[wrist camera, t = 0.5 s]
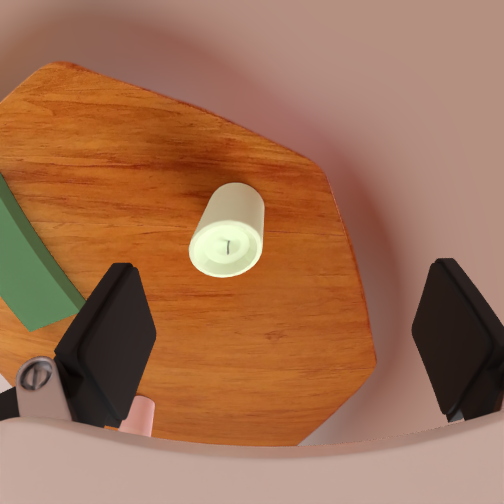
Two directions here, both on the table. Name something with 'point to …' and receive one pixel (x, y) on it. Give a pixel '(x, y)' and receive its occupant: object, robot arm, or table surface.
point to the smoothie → (139, 417)
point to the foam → (31, 271)
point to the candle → (229, 232)
